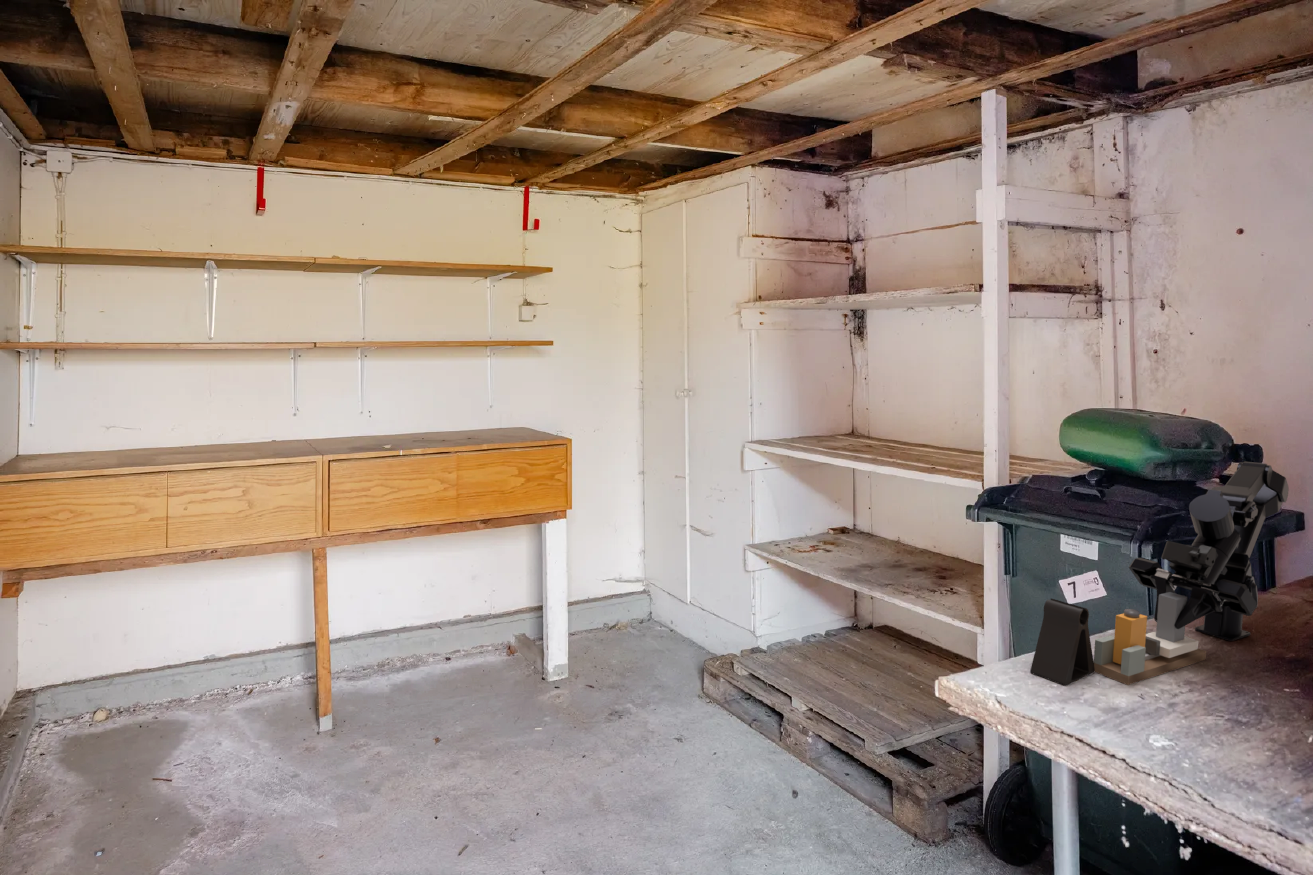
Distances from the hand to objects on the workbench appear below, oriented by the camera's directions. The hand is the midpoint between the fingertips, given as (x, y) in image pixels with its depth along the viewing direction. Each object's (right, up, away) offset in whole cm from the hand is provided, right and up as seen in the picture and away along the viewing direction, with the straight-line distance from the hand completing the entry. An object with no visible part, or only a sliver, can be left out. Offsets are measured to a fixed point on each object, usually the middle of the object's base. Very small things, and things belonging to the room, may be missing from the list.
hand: (1166, 624), depth 138 cm
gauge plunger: (-9, -5, -4) cm, 11 cm away
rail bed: (-3, -7, -1) cm, 7 cm away
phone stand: (-19, -8, -3) cm, 21 cm away
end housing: (-11, -6, -5) cm, 13 cm away
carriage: (0, -4, +1) cm, 4 cm away
